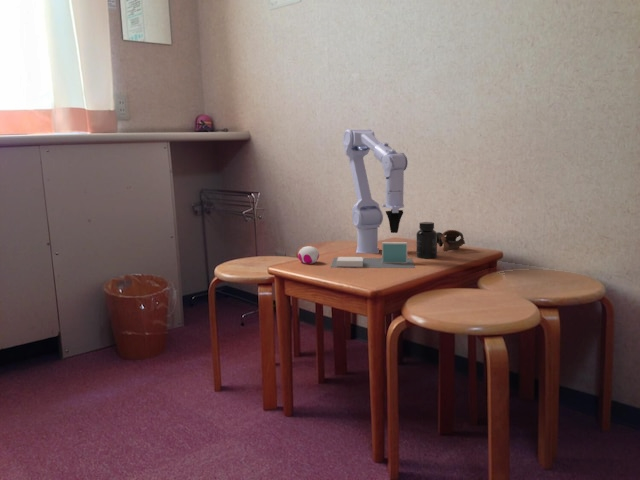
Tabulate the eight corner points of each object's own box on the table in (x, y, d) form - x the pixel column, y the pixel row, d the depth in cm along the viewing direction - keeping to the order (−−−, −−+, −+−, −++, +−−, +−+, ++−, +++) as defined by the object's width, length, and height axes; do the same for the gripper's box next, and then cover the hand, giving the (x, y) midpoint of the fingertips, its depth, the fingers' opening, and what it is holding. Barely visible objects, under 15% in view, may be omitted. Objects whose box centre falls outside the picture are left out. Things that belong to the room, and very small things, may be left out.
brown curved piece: (467, 249, 207) (470, 232, 202) (456, 264, 202) (458, 247, 196) (437, 239, 213) (439, 221, 208) (426, 253, 207) (427, 236, 202)
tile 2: (381, 261, 183) (382, 242, 182) (406, 262, 182) (407, 242, 181) (382, 263, 181) (382, 243, 180) (407, 263, 180) (407, 243, 179)
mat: (334, 259, 191) (334, 257, 190) (412, 259, 188) (412, 258, 188) (330, 268, 176) (330, 267, 176) (414, 269, 173) (415, 267, 173)
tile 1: (338, 256, 182) (336, 260, 176) (363, 256, 181) (362, 260, 175) (338, 262, 182) (336, 266, 176) (363, 262, 182) (362, 267, 175)
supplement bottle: (431, 255, 194) (432, 221, 192) (440, 259, 188) (441, 223, 186) (413, 256, 193) (413, 221, 191) (421, 260, 186) (421, 224, 184)
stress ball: (297, 273, 185) (288, 258, 182) (310, 256, 189) (301, 241, 186) (314, 275, 180) (304, 260, 177) (327, 258, 184) (318, 243, 181)
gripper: (381, 189, 190) (381, 229, 192) (382, 192, 176) (382, 235, 178) (402, 189, 190) (402, 229, 192) (405, 192, 175) (405, 235, 178)
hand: (394, 232), depth 185 cm, fingers closed
